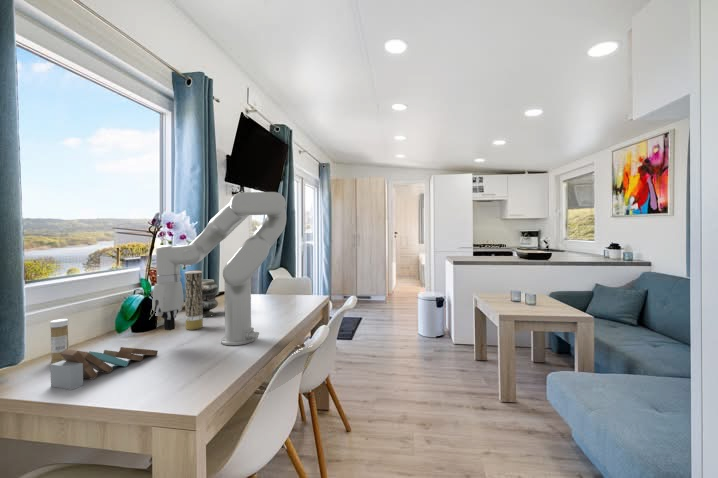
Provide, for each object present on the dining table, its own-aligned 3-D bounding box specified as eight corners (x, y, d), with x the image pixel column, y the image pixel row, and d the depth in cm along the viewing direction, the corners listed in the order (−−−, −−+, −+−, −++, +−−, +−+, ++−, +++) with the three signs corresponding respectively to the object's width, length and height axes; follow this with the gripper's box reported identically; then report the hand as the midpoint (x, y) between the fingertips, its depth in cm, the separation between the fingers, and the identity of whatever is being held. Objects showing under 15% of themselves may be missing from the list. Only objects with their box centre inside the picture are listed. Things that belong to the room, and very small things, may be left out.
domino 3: (117, 359, 110) (89, 351, 102) (129, 361, 108) (101, 352, 100) (114, 365, 109) (86, 356, 101) (126, 366, 107) (98, 358, 99)
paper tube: (197, 325, 157) (196, 270, 157) (205, 327, 153) (204, 271, 153) (182, 328, 152) (181, 271, 151) (190, 331, 148) (189, 272, 147)
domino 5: (146, 349, 120) (120, 347, 111) (157, 350, 118) (132, 348, 109) (145, 354, 119) (118, 352, 110) (156, 355, 118) (130, 353, 109)
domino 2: (101, 366, 105) (75, 350, 98) (113, 368, 104) (88, 352, 97) (97, 371, 104) (71, 355, 97) (109, 373, 103) (83, 357, 96)
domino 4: (132, 354, 115) (104, 349, 106) (143, 355, 113) (116, 351, 105) (130, 359, 114) (102, 355, 106) (141, 360, 112) (114, 356, 104)
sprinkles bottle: (70, 357, 117) (70, 317, 116) (66, 361, 113) (65, 320, 112) (53, 359, 115) (52, 319, 114) (48, 364, 111) (47, 322, 110)
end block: (83, 385, 94) (82, 363, 94) (71, 390, 91) (70, 367, 91) (63, 381, 97) (62, 360, 97) (50, 386, 94) (50, 364, 94)
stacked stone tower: (215, 317, 173) (215, 281, 173) (189, 318, 171) (189, 282, 170) (220, 312, 185) (219, 278, 185) (195, 313, 182) (195, 279, 182)
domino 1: (85, 372, 101) (65, 348, 96) (98, 374, 99) (77, 350, 94) (80, 377, 100) (60, 353, 95) (93, 379, 98) (72, 355, 93)
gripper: (177, 276, 134) (178, 323, 134) (142, 281, 120) (143, 334, 120) (192, 277, 132) (193, 325, 132) (158, 282, 117) (159, 336, 118)
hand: (169, 329), depth 126 cm, fingers closed
